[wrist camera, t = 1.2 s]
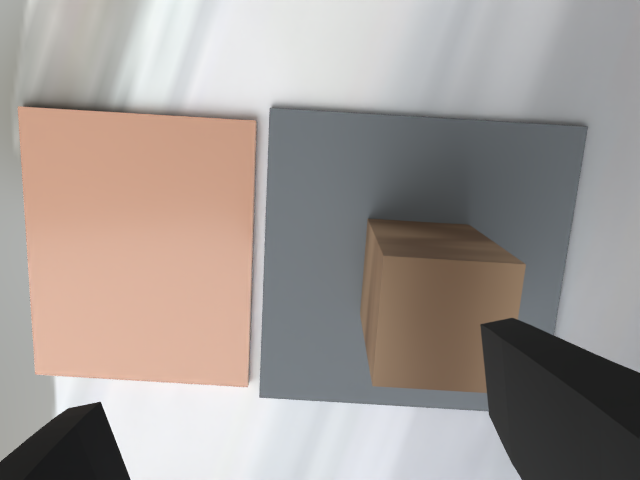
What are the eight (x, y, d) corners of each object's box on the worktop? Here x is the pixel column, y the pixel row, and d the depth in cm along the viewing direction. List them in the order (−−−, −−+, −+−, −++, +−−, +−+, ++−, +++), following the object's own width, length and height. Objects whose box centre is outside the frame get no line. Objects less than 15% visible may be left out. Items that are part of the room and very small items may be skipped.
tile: (256, 120, 20) (255, 120, 20) (248, 383, 22) (247, 387, 22) (22, 106, 20) (17, 106, 20) (39, 371, 22) (35, 374, 22)
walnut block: (469, 224, 20) (526, 264, 15) (457, 320, 21) (506, 394, 15) (367, 218, 20) (383, 256, 15) (360, 314, 21) (372, 386, 15)
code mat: (585, 126, 20) (588, 126, 20) (538, 411, 22) (540, 414, 22) (270, 107, 20) (269, 108, 20) (260, 395, 22) (259, 397, 22)
